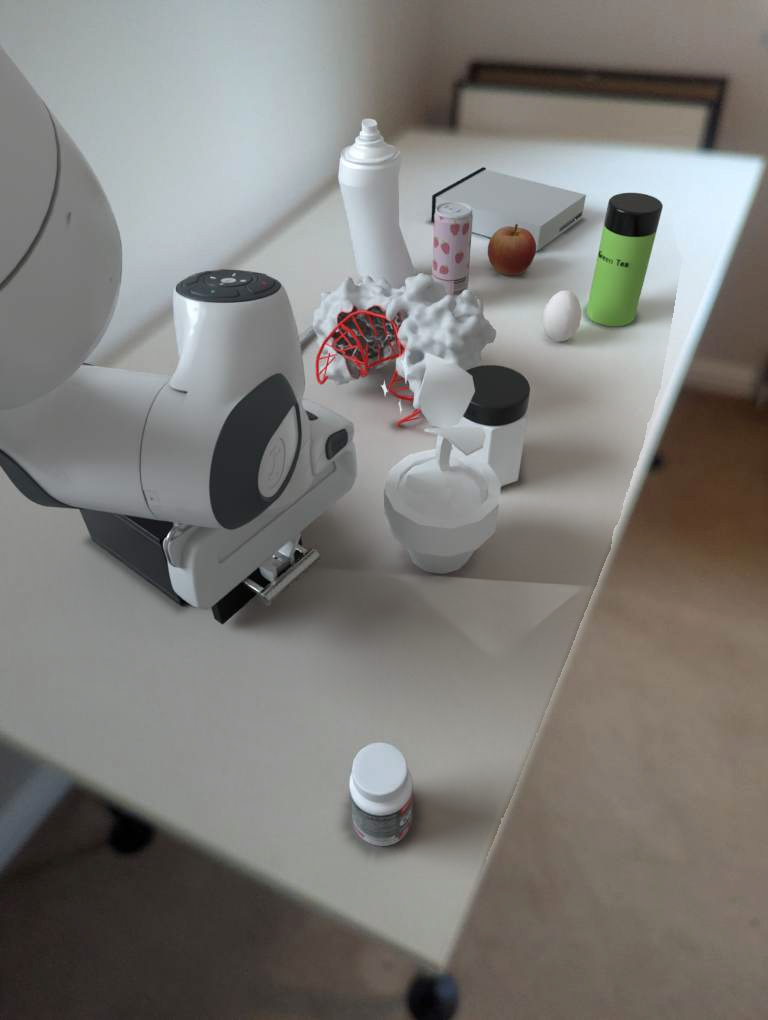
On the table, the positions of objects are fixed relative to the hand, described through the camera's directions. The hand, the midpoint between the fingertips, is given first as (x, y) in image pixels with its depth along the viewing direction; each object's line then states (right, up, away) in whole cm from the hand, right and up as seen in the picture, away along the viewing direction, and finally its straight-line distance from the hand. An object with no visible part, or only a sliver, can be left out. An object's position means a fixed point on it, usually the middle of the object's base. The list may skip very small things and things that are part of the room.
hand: (278, 570), depth 70 cm
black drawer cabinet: (-12, +3, +11) cm, 17 cm away
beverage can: (+20, +39, +47) cm, 64 cm away
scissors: (-4, +28, +36) cm, 46 cm away
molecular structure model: (+12, +21, +29) cm, 38 cm away
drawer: (-5, 0, +6) cm, 8 cm away
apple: (+31, +46, +54) cm, 78 cm away
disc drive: (+33, +60, +69) cm, 97 cm away
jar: (+22, +11, +19) cm, 31 cm away
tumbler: (+45, +36, +44) cm, 72 cm away
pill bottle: (+10, -19, -11) cm, 24 cm away
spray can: (+10, +43, +51) cm, 67 cm away
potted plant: (+16, +1, +9) cm, 18 cm away
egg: (+36, +31, +39) cm, 61 cm away
